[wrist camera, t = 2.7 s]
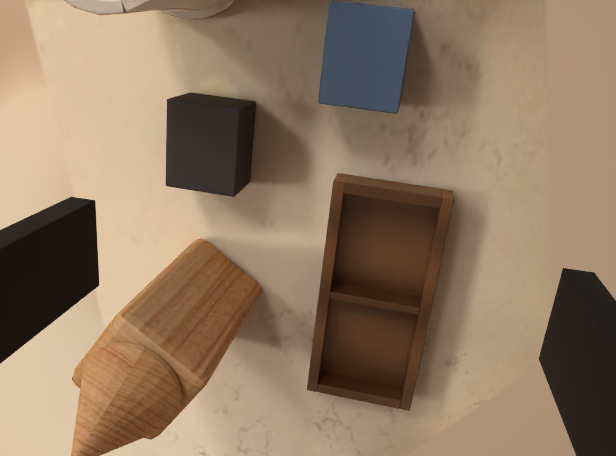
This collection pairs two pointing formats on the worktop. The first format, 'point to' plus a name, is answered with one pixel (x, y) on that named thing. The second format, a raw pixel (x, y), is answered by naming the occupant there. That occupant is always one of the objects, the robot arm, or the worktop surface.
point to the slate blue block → (365, 56)
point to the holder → (377, 288)
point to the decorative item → (160, 350)
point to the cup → (154, 7)
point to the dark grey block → (209, 143)
